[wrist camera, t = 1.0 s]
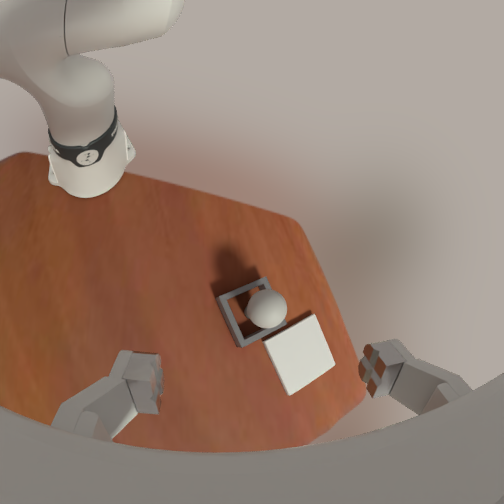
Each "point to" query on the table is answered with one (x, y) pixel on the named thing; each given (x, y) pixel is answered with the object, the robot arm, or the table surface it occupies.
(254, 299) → the lightbulb
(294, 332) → the mat
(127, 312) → the table surface
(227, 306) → the frame
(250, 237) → the table surface
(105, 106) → the robot arm
